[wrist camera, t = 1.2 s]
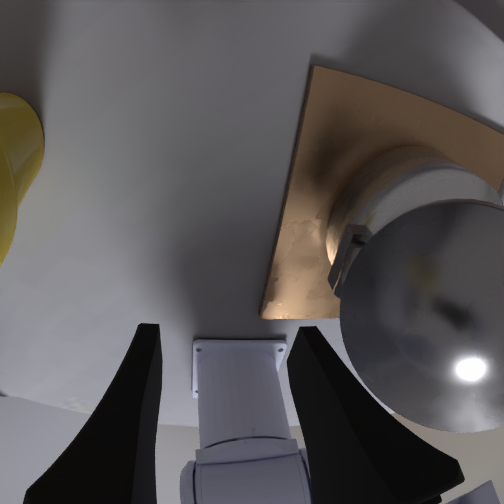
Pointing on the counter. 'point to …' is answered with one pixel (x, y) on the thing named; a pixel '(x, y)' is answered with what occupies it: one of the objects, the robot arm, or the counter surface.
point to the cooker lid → (430, 314)
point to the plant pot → (16, 161)
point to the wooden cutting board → (366, 180)
